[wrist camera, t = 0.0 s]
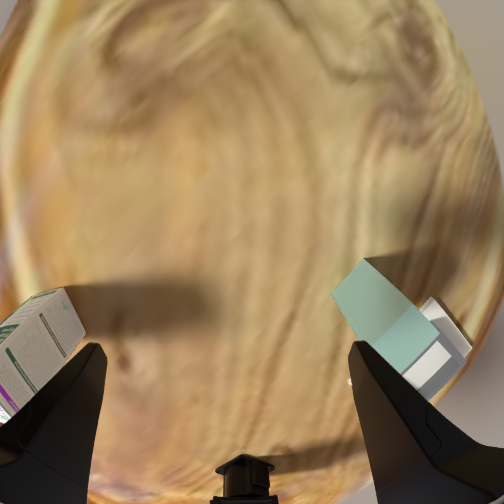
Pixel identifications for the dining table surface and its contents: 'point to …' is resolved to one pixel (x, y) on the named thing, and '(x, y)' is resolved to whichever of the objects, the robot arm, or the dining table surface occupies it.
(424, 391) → the white grey square base
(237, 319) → the dining table surface
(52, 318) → the syrup box
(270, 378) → the dining table surface
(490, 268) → the dining table surface
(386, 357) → the teal green block
